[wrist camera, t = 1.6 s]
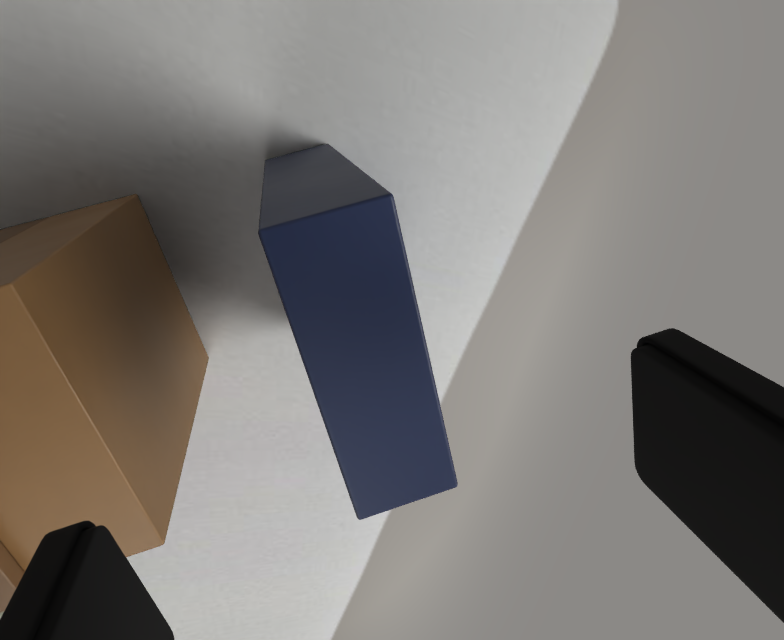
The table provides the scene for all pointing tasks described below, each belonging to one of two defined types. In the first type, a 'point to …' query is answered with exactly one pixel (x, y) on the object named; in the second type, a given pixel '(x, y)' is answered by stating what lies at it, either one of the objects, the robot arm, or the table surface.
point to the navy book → (356, 325)
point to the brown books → (91, 381)
